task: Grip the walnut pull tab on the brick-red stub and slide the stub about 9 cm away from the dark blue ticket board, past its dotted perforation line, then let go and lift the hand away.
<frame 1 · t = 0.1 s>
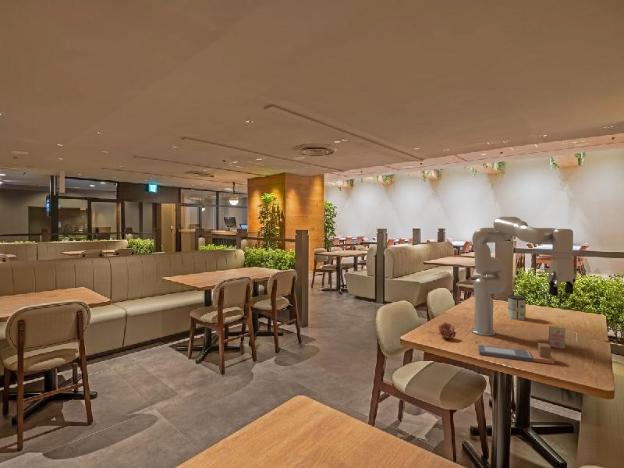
hand: (561, 294, 161), 31 cm above the table, tool pointing down, fingers open, 9 cm apart
stub: (541, 351, 166), point 3 cm above the table, slide at 0.0 cm
coffee can: (516, 318, 235), on the table
printed box: (556, 347, 182), on the table
ticket board: (504, 354, 172), on the table
graded card: (565, 336, 200), on the table
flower: (447, 339, 194), on the table
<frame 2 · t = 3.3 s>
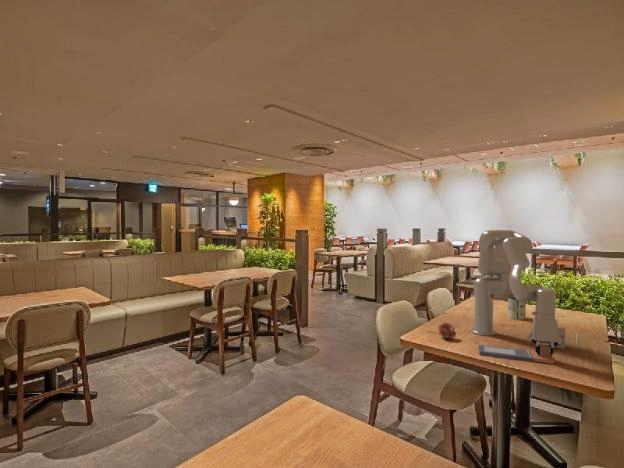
hand: (544, 354, 165), 2 cm above the table, tool pointing down, fingers closed on stub, 4 cm apart
stub: (541, 351, 166), point 3 cm above the table, slide at 0.0 cm, touching gripper
everything else where it was.
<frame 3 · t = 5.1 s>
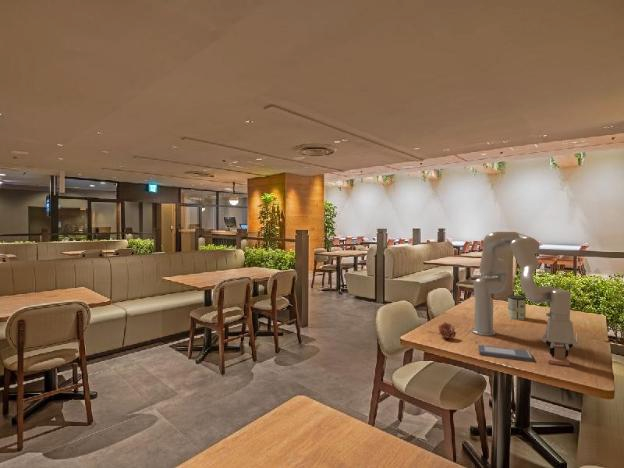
hand: (558, 356, 163), 2 cm above the table, tool pointing down, fingers closed on stub, 4 cm apart
stub: (556, 353, 164), point 3 cm above the table, slide at 5.6 cm, touching gripper
everything else where it was.
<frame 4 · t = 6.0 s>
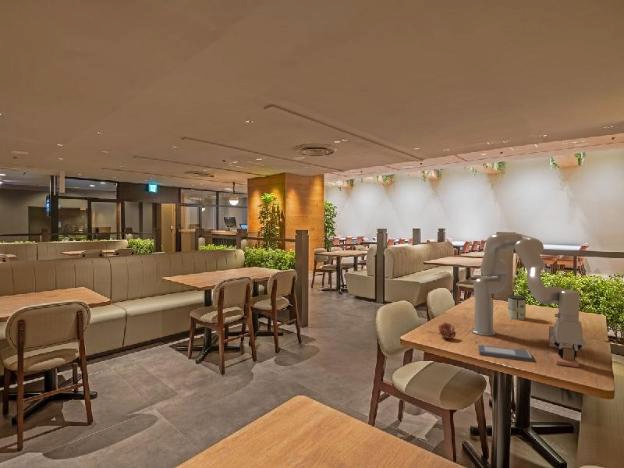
hand: (567, 357, 162), 2 cm above the table, tool pointing down, fingers closed on stub, 4 cm apart
stub: (564, 354, 162), point 3 cm above the table, slide at 8.9 cm, touching gripper
everything else where it was.
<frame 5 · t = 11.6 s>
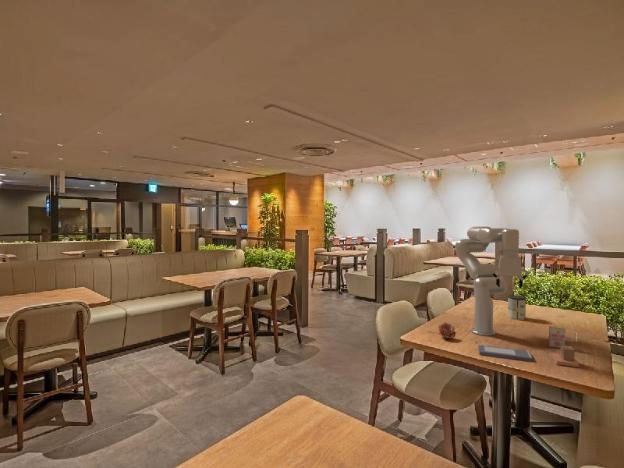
hand: (509, 287, 181), 30 cm above the table, tool pointing down, fingers open, 9 cm apart
stub: (564, 354, 162), point 3 cm above the table, slide at 9.0 cm
everything else where it was.
at the end: stub slide at 9.0 cm; the gripper is holding nothing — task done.
